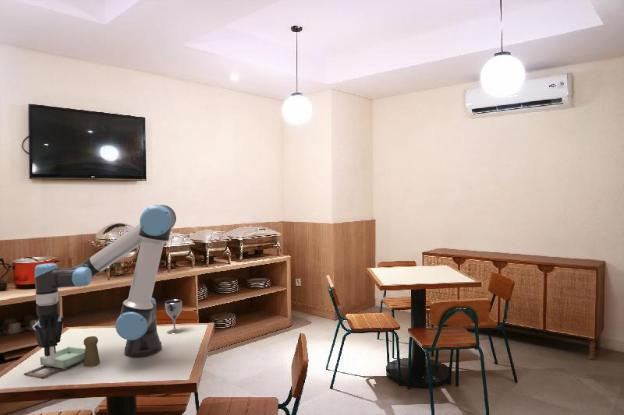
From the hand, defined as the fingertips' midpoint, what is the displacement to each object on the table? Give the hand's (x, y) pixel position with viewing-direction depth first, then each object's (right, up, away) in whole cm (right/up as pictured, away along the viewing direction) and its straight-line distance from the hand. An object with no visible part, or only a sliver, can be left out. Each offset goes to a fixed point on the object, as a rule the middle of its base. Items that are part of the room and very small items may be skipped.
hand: (50, 363), depth 172 cm
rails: (+2, -3, +4) cm, 5 cm away
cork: (+14, -2, +5) cm, 15 cm away
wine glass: (+35, -1, +45) cm, 57 cm away
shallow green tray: (+3, -3, +7) cm, 8 cm away
